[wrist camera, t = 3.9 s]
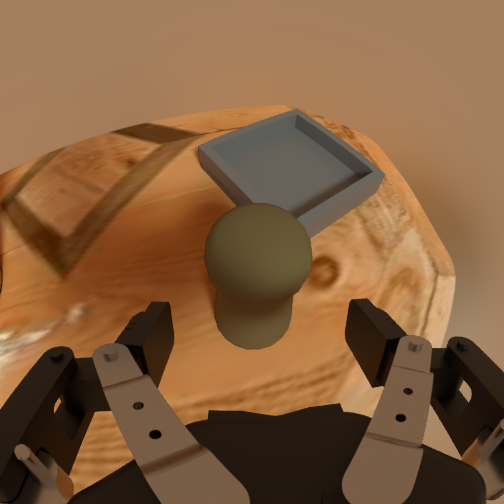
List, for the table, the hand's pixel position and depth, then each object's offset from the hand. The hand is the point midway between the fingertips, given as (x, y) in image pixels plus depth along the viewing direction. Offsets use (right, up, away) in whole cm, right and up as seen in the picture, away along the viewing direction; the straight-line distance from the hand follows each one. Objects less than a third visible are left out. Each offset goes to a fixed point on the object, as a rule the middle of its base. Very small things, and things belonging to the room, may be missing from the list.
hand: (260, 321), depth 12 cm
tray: (+4, +11, +17) cm, 21 cm away
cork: (0, -2, +10) cm, 10 cm away
